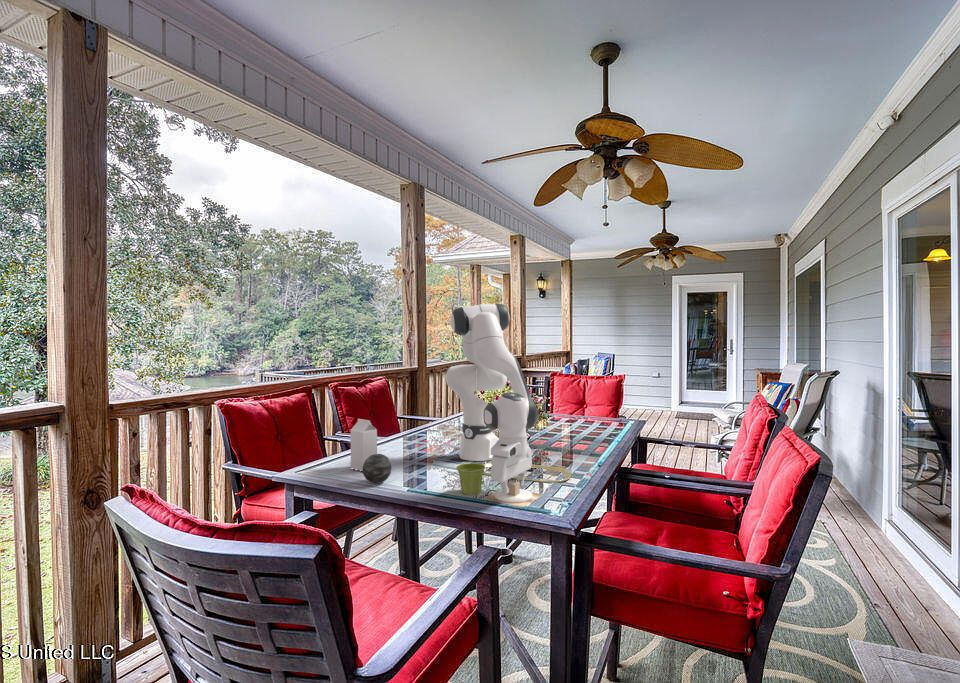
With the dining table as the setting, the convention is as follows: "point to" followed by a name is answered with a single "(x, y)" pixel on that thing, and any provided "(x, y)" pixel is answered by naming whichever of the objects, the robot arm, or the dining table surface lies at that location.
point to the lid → (513, 494)
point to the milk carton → (362, 443)
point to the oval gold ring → (543, 468)
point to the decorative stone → (377, 468)
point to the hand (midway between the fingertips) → (512, 489)
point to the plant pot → (471, 477)
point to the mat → (534, 496)
